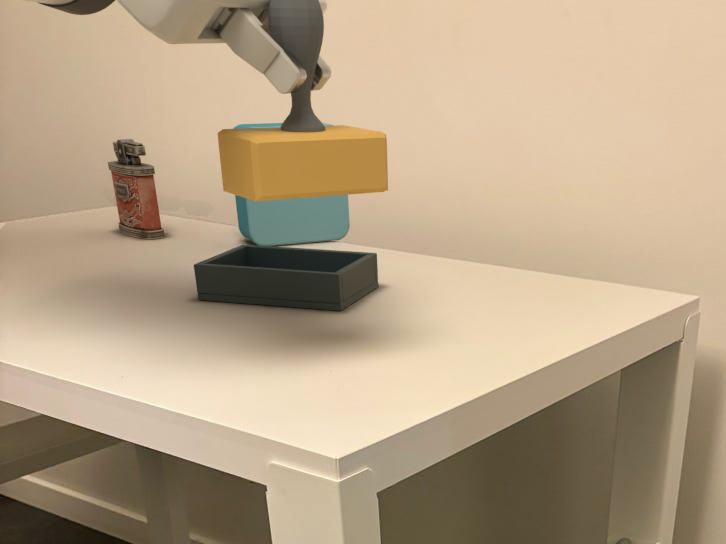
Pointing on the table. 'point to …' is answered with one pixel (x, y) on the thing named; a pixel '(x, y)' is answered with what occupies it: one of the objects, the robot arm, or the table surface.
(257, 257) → the holder
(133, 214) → the lighter
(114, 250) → the table surface
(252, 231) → the teal rounded flat block
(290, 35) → the rubber stamp
